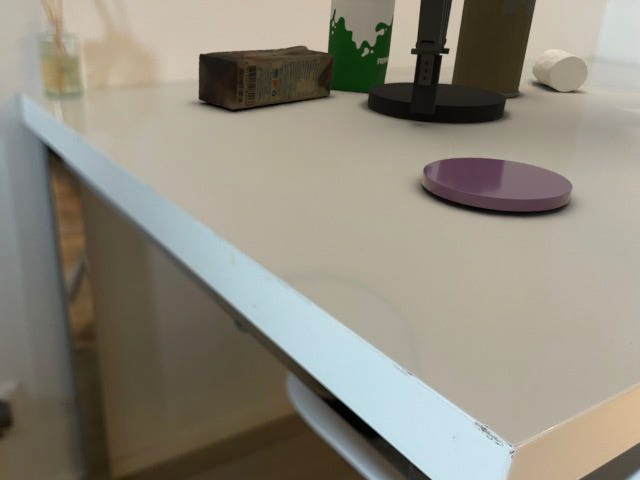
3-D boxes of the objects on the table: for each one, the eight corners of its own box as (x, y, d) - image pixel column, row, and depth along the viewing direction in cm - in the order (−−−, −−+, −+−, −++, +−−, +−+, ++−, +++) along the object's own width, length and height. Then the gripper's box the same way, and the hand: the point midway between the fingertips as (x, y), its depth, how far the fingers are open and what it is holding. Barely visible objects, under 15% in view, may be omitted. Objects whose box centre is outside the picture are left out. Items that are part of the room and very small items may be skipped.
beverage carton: (334, 96, 95) (337, 48, 92) (234, 113, 83) (234, 58, 80) (294, 88, 100) (296, 42, 97) (194, 103, 88) (193, 51, 85)
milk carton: (376, 94, 98) (392, -59, 89) (318, 88, 101) (328, -60, 92) (391, 86, 105) (407, -56, 96) (336, 81, 108) (347, -57, 99)
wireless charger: (394, 123, 80) (396, 106, 79) (350, 96, 96) (352, 82, 95) (530, 121, 83) (533, 105, 82) (465, 96, 98) (468, 82, 98)
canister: (480, 99, 96) (507, -56, 87) (435, 87, 104) (455, -55, 96) (536, 96, 100) (567, -53, 91) (488, 84, 109) (512, -53, 100)
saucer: (564, 181, 60) (568, 166, 59) (573, 225, 50) (578, 207, 49) (429, 166, 63) (431, 151, 63) (411, 203, 53) (414, 187, 52)
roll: (556, 80, 115) (564, 46, 112) (583, 92, 104) (592, 55, 102) (521, 79, 115) (528, 45, 112) (545, 91, 104) (553, 53, 102)
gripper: (425, -112, 75) (399, 100, 86) (407, -126, 64) (380, 119, 75) (494, -112, 73) (459, 105, 83) (487, -127, 62) (448, 126, 72)
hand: (422, 111), depth 79 cm, fingers closed
